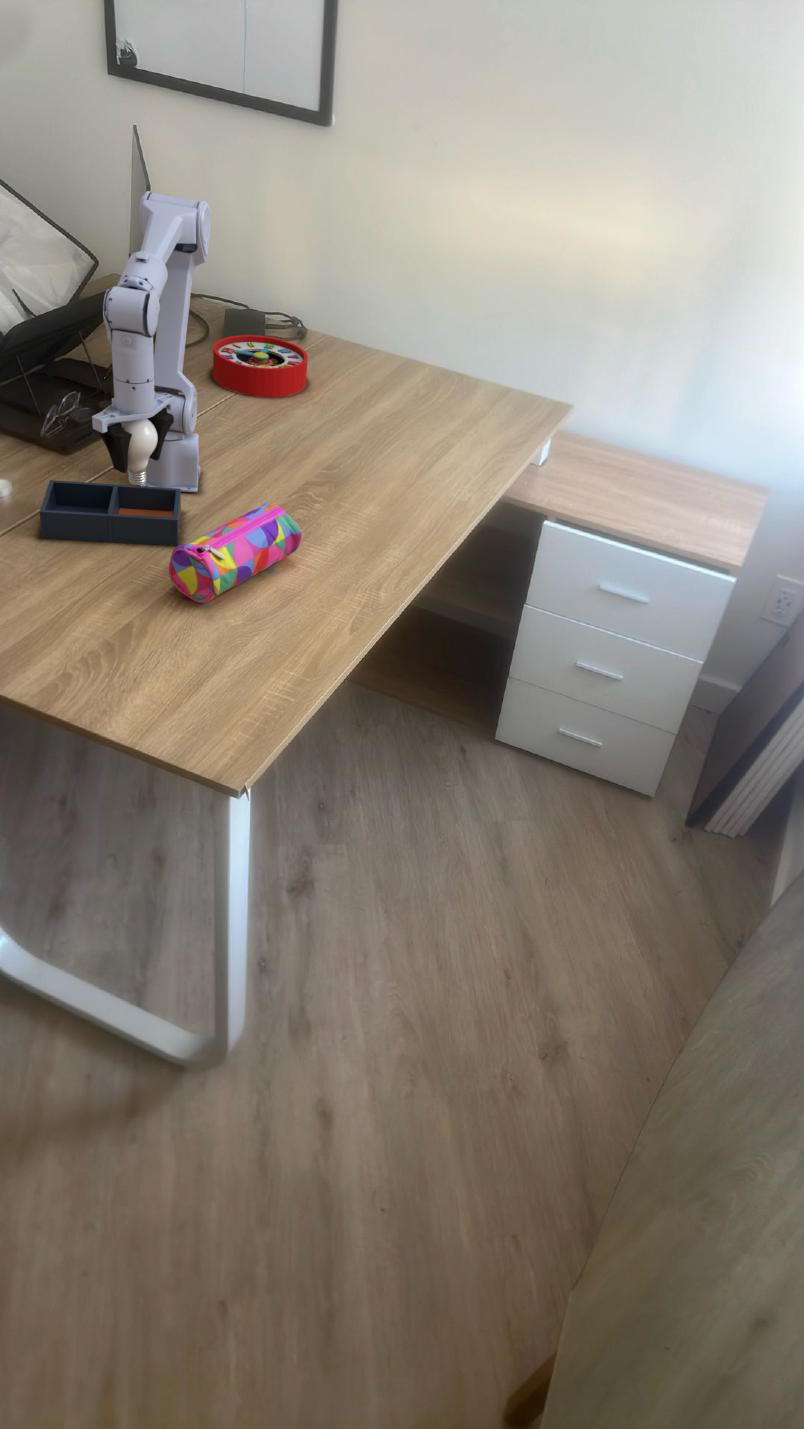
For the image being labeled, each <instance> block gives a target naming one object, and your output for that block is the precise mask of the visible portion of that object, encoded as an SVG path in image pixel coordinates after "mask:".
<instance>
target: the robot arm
mask: <svg viewBox="0 0 804 1429" xmlns="http://www.w3.org/2000/svg"><path fill="white" fill-rule="evenodd" d="M138 213H139V214H138V218H139V219H138V220H139V227H140V230H141V233H142V236H143V239H142V244H141V247H140V250H139V251H135V252H133V253H132V254H131V255H130V256H129V258H128V260H127V262H126V264H125V267H124V269H123V272H122V274H121V276H120V278H119V281H118V283H117V285H114V286H113V287H111V288H108V289H107V290H106V292H105V294H104V296H103V297H104V298H103V303H102V304H103V305H102V317H103V318H102V319H103V323H104V327H105V329H106V336H107V341H108V342H107V343H108V344H110V346H111V363H112V364H111V365H112V379H113V380H112V381H113V397H112V398H111V404H110V405H109V406H107V407H106V408H104V409H103V410H102V411H100V412H98V413H96V414H94V415H92V416H91V422H92V429H93V430H95V431H96V432H97V434H98V435H99V436H100V438H101V440H102V442H103V443H104V445H105V447H106V449H107V451H108V454H109V457H110V460H111V463H112V466H113V469H114V470H115V471H116V472H119V473H121V474H126V473H127V472H128V448H129V443H130V439H131V437H132V434H131V433H129V432H127V431H124V427H122V424H124V423H126V422H129V421H133V420H141V419H148V420H149V421H150V422H151V423H152V424H153V425H154V427H155V429H156V431H157V435H158V441H157V445H156V448H155V450H154V451H153V453H152V454H151V455H150V457H149V460H148V465H147V467H146V483H144V484H142V485H140V486H147V487H162V488H178V489H181V492H182V493H198V489H199V479H200V478H199V477H201V465H200V434H199V433H196V432H194V431H195V429H196V425H197V419H198V392H197V388H196V387H195V385H194V384H193V383H192V382H191V381H190V380H189V379H188V377H187V376H185V374H184V373H183V370H184V361H185V360H184V359H185V350H186V342H187V333H188V332H187V331H188V324H189V314H190V303H191V295H192V284H193V280H194V275H195V271H196V267H198V266H200V265H202V264H205V263H206V262H207V256H208V254H209V246H210V237H211V228H212V224H211V223H212V220H211V218H212V217H211V216H212V215H211V207H210V206H209V204H208V202H207V201H206V200H203V199H201V200H195V199H190V198H185V197H179V196H172V195H168V194H161V193H155V192H153V191H151V190H147V191H145V193H144V194H142V196H141V199H140V202H139V212H138ZM155 333H156V334H155ZM154 335H155V343H154ZM157 389H158V390H157ZM162 390H163V391H162ZM173 392H175V393H173ZM180 393H181V394H180Z"/></svg>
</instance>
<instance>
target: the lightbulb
mask: <svg viewBox="0 0 804 1429" xmlns="http://www.w3.org/2000/svg"><path fill="white" fill-rule="evenodd" d="M122 427H124V431H127V432H129V433H131V434H132V437H131V439H130V443H129V448H128V469H127V472H128V473H127V475H128V482H129V483H130V484H132V485H133V486H140V485H142V484H144V483H146V467H147V465H148V460H149V457H150V455H151V454H152V453H153V451H154V450H155V448H156V445H157V441H158V435H157V431H156V429H155V427H154V425H153V424H152V423H151V422H150V421H149V420H148V419H141V420H133V421H129V422H126V423H124V424H122Z"/></svg>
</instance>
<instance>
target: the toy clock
mask: <svg viewBox="0 0 804 1429" xmlns="http://www.w3.org/2000/svg"><path fill="white" fill-rule="evenodd" d="M308 357H309V356H308V353H307V352H306V351H305V350H304V349H303V348H302V347H300V346H299V345H298V344H295V343H293V342H290V341H287V340H284V339H280V338H277V337H271V336H266V335H265V336H264V335H256V334H255V335H253V334H244V335H243V334H242V335H241V334H240V335H231V336H227V337H224V338H221V339H219V340H217V341H216V342H215V343H214V344H213V348H212V377H213V380H214V381H215V383H217V384H218V385H219V386H221V387H223V388H224V389H226V390H228V391H232V392H233V393H237V394H242V395H245V396H251V397H258V398H260V397H261V398H282V397H288V396H293V395H296V394H297V393H300V392H302V391H303V390H304V389H305V388H306V385H307V376H308V375H307V373H308V361H309V360H308V359H309V358H308Z"/></svg>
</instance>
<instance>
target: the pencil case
mask: <svg viewBox="0 0 804 1429" xmlns="http://www.w3.org/2000/svg"><path fill="white" fill-rule="evenodd" d="M301 540H302V529H301V527H300V525H299V523H298V522H297V521H296V520H295V519H294V518H292V517H291V516H290V515H289V514H288V513H287V512H286V511H285V509H284V508H283V507H280V506H279V505H277V504H276V503H274V502H271V501H266V502H264V503H262V504H261V505H259V506H258V507H257V508H256V509H253V510H250V511H248V512H246V513H244V514H243V515H241V516H238V517H237V518H234V519H233V520H231V521H229V522H227V523H224V524H223V525H221V526H219V527H217V528H215V529H213V530H212V531H210V532H208V533H206V534H204V535H203V536H201V537H199V538H197V539H196V540H194V541H192V542H190V543H185V544H180V545H178V546H176V547H175V548H173V550H172V552H171V555H170V558H169V564H168V574H169V578H170V581H171V583H172V584H173V585H174V587H175V588H176V589H177V591H178V592H180V593H181V594H183V595H184V596H186V597H187V598H189V599H190V600H191V601H194V602H196V603H199V604H206V603H208V602H210V601H212V600H213V599H214V598H215V597H219V596H220V594H223V593H224V592H226V591H229V590H230V589H233V588H234V587H236V586H239V585H240V584H242V583H244V582H245V581H248V580H249V579H251V578H252V577H254V576H256V575H257V574H258V573H259V572H262V571H265V570H267V569H268V568H269V567H271V566H273V564H276V563H278V562H280V561H281V560H283V559H285V558H287V557H289V556H290V555H292V554H293V553H294V552H296V551H297V550H298V549H299V546H300V544H301Z"/></svg>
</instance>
